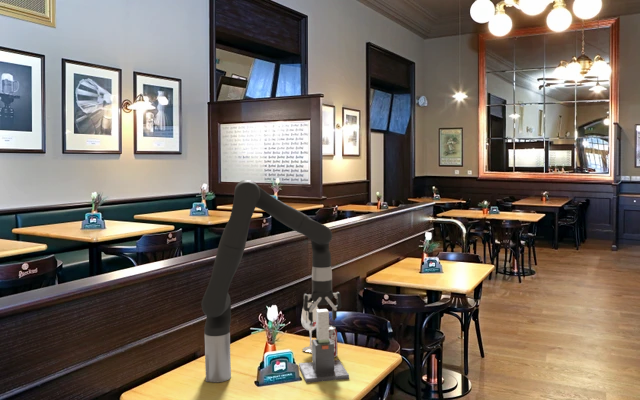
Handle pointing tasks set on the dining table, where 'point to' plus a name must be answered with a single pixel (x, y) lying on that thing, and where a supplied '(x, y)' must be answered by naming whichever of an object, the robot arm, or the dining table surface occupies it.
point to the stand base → (323, 364)
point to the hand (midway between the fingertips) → (322, 320)
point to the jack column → (322, 326)
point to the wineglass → (309, 325)
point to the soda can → (333, 338)
